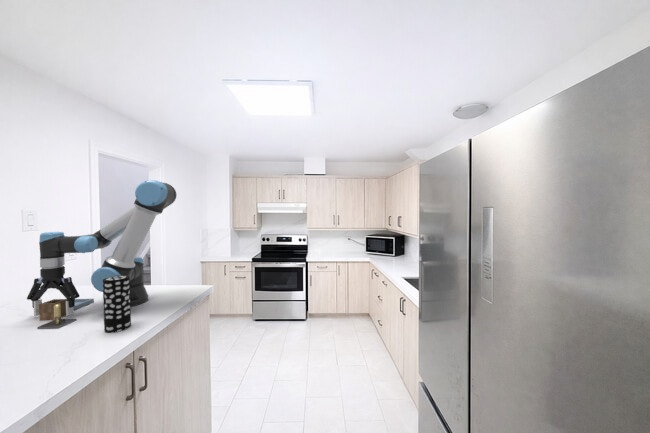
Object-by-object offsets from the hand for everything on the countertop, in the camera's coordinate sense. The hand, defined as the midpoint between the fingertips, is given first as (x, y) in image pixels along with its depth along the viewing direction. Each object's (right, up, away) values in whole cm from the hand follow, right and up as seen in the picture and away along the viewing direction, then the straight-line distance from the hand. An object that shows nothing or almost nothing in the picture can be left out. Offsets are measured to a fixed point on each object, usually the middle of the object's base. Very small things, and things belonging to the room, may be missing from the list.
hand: (54, 314), depth 116 cm
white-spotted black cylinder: (+38, -1, -12) cm, 39 cm away
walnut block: (0, -1, 0) cm, 1 cm away
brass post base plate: (+9, -1, -8) cm, 12 cm away
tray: (-5, -1, +12) cm, 13 cm away
